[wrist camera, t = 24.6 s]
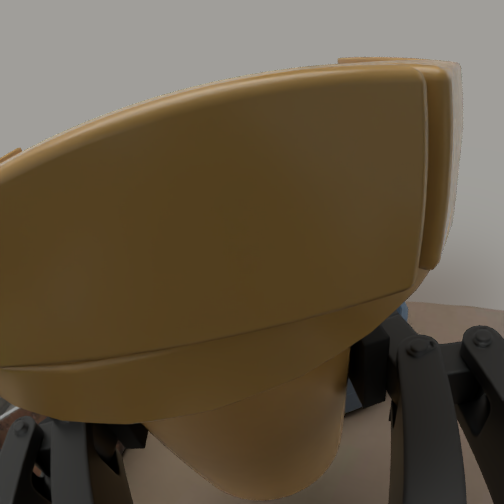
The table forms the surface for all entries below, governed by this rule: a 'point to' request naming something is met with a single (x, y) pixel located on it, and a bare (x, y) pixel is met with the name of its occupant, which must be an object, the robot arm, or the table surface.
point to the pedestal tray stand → (227, 258)
